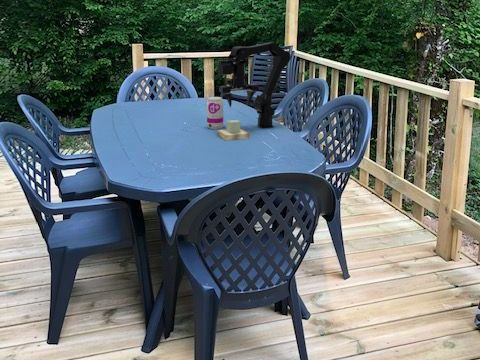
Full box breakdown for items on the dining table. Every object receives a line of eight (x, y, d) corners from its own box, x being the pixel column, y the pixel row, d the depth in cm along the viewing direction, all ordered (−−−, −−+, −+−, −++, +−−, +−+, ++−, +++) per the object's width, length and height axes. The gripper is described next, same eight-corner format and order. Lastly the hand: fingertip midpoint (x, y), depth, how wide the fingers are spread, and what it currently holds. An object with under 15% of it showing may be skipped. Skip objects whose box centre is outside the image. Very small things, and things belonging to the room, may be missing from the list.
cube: (236, 130, 271) (236, 119, 269) (240, 132, 266) (240, 121, 265) (226, 131, 269) (226, 120, 267) (230, 133, 265) (230, 122, 263)
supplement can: (221, 129, 283) (220, 99, 278) (205, 129, 284) (204, 99, 280) (225, 126, 290) (224, 96, 286) (209, 125, 292) (208, 96, 287)
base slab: (240, 134, 276) (240, 128, 275) (249, 139, 265) (249, 133, 264) (216, 136, 272) (216, 130, 271) (225, 142, 261) (225, 135, 260)
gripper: (250, 70, 283) (250, 102, 288) (214, 73, 277) (215, 105, 282) (259, 73, 274) (259, 105, 278) (222, 75, 267) (223, 108, 272)
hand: (239, 106), depth 278 cm, fingers open, 9 cm apart
